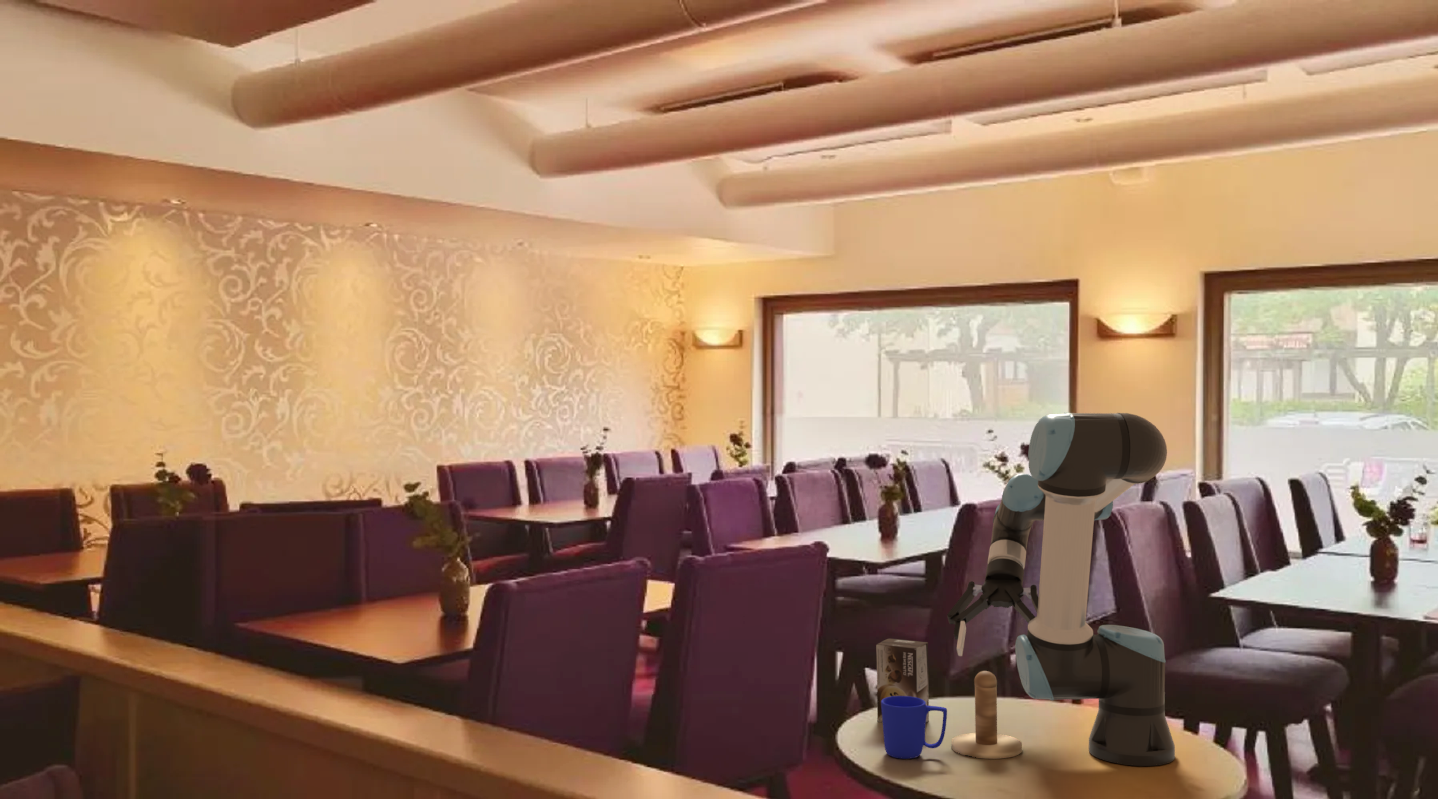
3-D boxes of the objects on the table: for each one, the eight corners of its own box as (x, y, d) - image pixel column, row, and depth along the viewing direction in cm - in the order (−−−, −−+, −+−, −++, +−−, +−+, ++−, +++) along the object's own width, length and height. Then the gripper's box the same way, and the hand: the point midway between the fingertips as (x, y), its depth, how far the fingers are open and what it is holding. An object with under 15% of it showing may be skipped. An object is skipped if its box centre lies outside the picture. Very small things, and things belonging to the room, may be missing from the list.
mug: (946, 764, 222) (946, 709, 222) (879, 760, 225) (879, 706, 224) (947, 750, 230) (947, 697, 230) (882, 747, 233) (882, 694, 232)
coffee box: (930, 720, 250) (929, 642, 250) (917, 728, 245) (917, 647, 245) (889, 714, 255) (888, 637, 255) (875, 721, 250) (875, 642, 250)
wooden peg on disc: (1028, 743, 234) (1027, 666, 234) (1013, 762, 223) (1012, 681, 223) (961, 735, 240) (960, 661, 240) (943, 753, 228) (942, 675, 228)
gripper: (1069, 581, 252) (1061, 670, 238) (948, 575, 261) (933, 660, 248) (1066, 559, 247) (1058, 649, 233) (943, 553, 256) (928, 639, 243)
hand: (994, 655), depth 241 cm, fingers open, 13 cm apart
